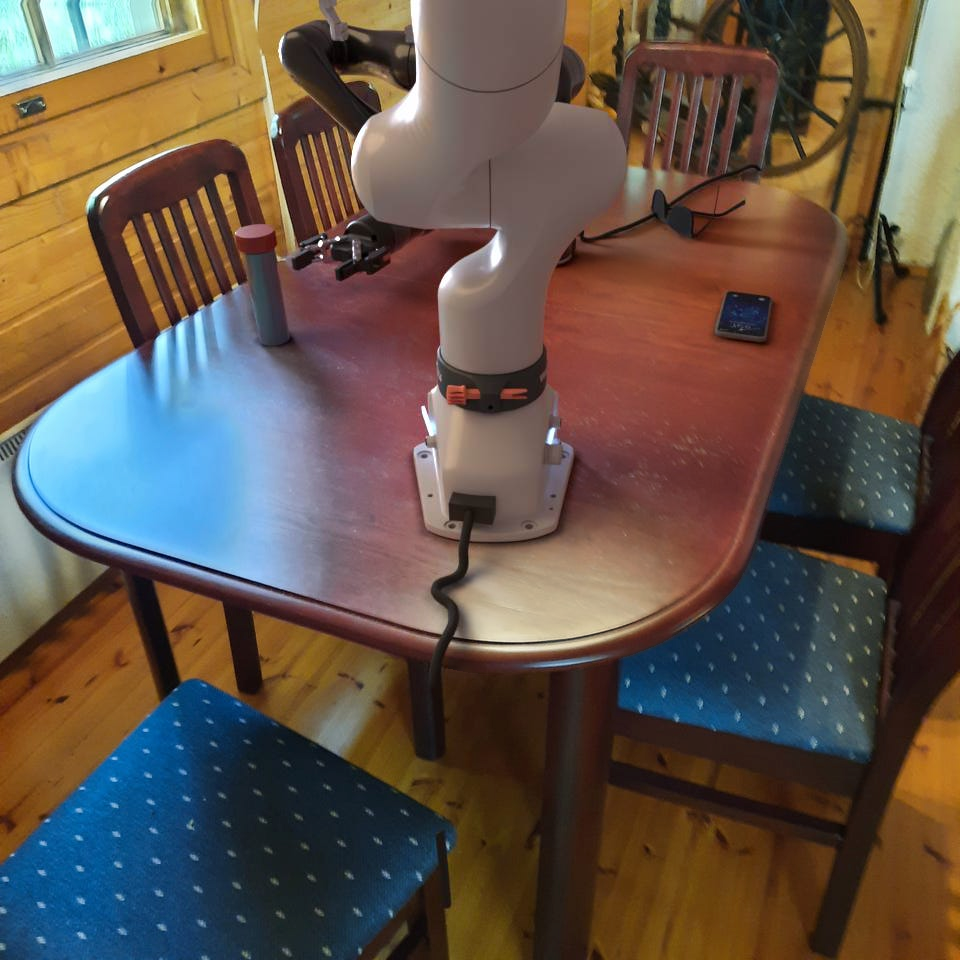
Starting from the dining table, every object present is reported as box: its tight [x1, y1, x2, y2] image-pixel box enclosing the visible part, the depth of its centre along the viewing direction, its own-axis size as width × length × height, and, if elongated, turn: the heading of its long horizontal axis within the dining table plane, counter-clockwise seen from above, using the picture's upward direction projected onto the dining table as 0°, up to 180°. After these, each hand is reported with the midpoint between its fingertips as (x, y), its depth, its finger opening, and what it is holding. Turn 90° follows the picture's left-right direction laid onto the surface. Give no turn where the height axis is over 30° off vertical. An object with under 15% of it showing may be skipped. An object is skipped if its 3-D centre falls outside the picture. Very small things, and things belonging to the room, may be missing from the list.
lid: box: [234, 223, 278, 254], centre depth 117 cm, size 5×5×2 cm
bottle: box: [241, 248, 291, 347], centre depth 122 cm, size 4×4×16 cm
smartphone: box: [714, 290, 774, 343], centre depth 128 cm, size 7×1×15 cm
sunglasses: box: [649, 184, 746, 239], centre depth 159 cm, size 17×14×5 cm
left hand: (376, 41), depth 102 cm, fingers open, 8 cm apart
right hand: (315, 269), depth 130 cm, fingers open, 8 cm apart
